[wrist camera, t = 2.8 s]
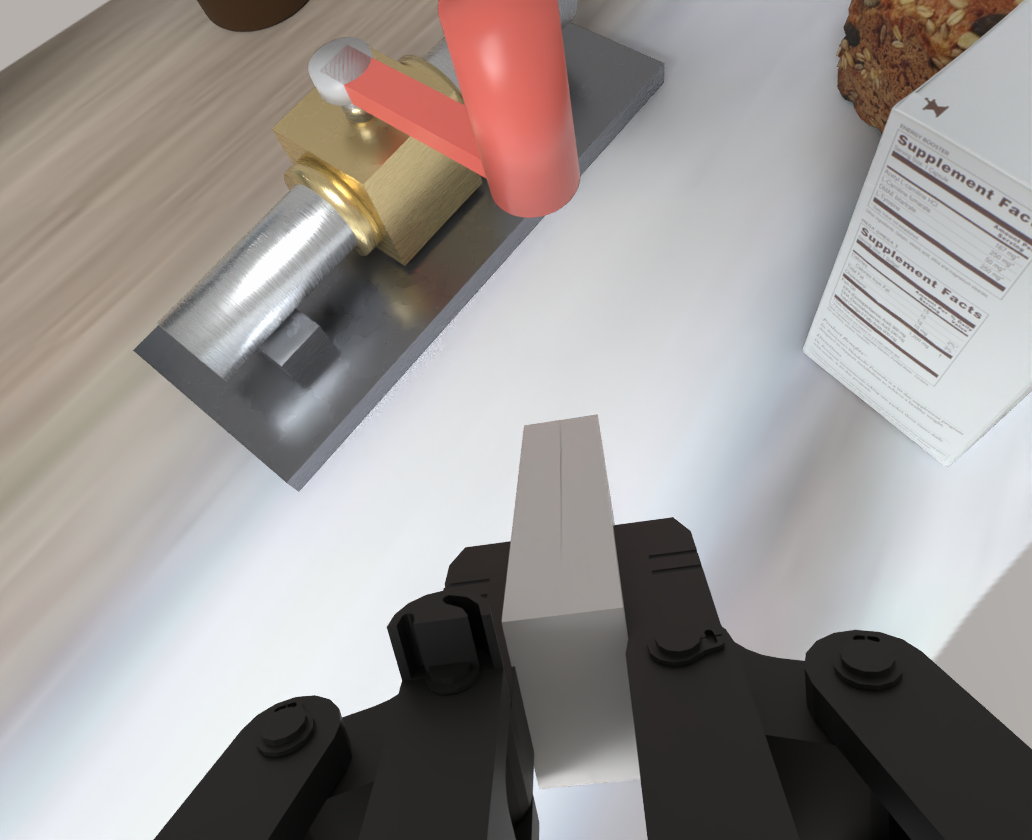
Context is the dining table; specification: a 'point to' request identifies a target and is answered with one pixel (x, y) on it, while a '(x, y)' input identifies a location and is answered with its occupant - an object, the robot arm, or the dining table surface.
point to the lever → (478, 99)
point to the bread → (906, 47)
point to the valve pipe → (362, 261)
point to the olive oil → (249, 12)
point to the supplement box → (942, 254)
